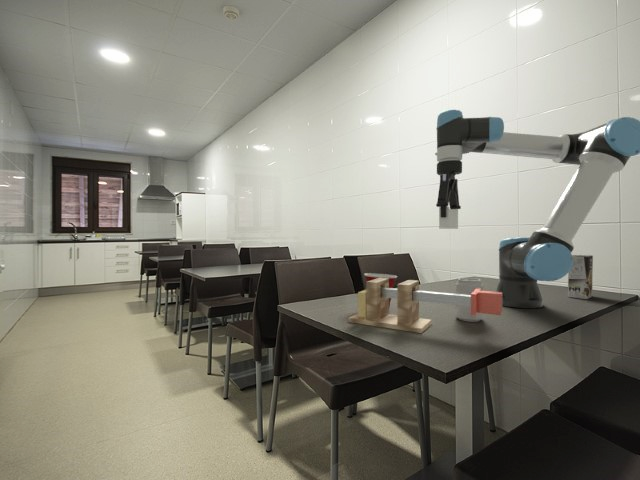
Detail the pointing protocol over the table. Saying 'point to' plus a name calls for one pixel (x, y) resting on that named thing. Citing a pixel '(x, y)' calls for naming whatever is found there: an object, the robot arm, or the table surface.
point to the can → (467, 288)
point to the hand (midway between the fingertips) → (449, 228)
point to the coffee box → (580, 277)
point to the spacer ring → (362, 304)
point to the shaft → (457, 299)
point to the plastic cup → (374, 276)
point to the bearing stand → (380, 307)
